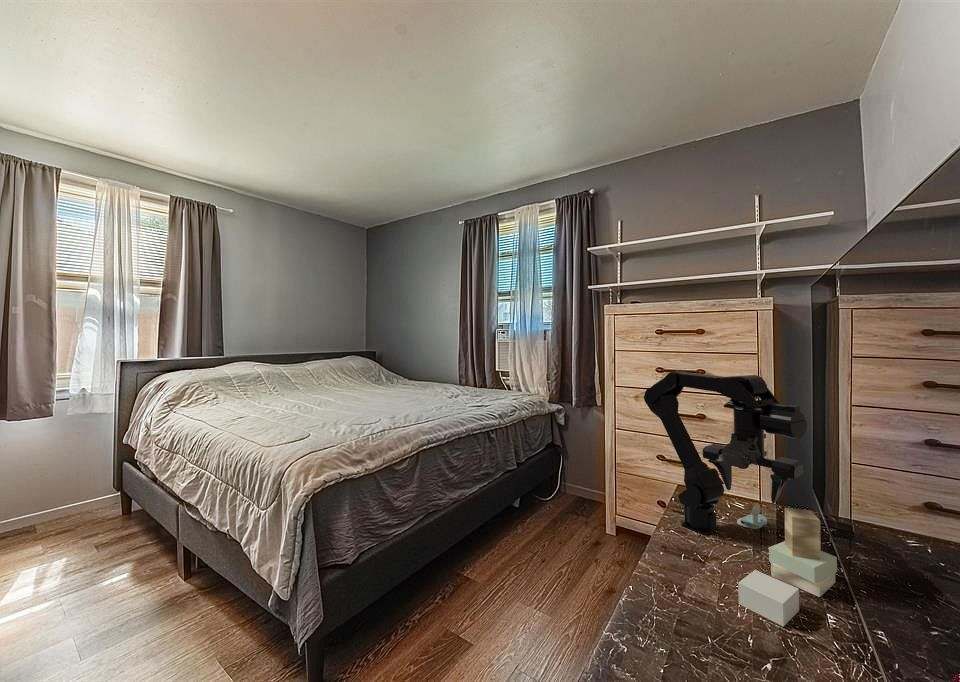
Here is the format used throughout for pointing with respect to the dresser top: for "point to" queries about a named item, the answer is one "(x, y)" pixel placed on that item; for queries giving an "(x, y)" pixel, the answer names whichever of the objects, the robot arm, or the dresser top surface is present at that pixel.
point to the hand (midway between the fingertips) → (750, 496)
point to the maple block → (802, 533)
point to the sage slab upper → (803, 563)
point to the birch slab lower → (802, 580)
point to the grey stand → (769, 597)
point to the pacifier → (753, 519)
